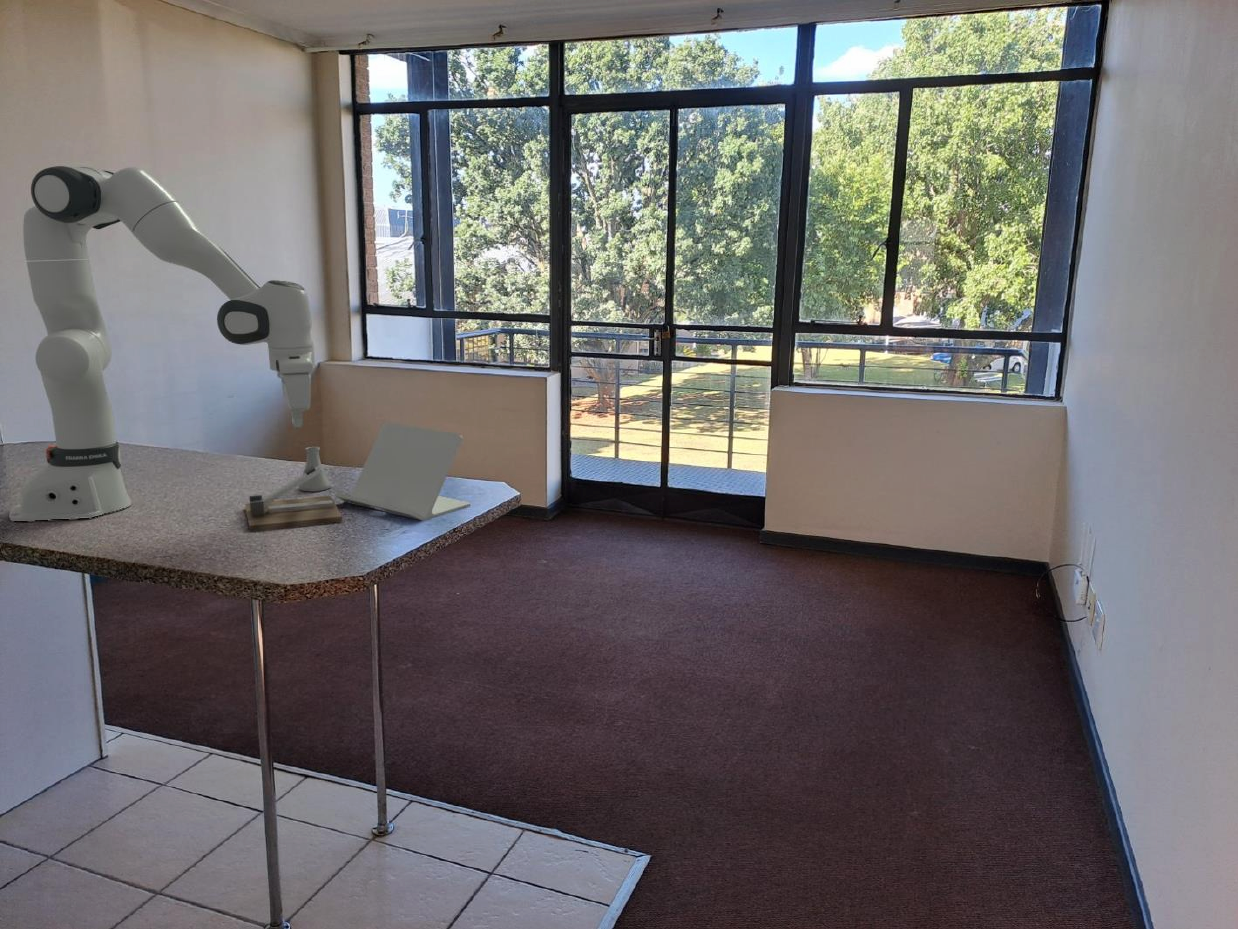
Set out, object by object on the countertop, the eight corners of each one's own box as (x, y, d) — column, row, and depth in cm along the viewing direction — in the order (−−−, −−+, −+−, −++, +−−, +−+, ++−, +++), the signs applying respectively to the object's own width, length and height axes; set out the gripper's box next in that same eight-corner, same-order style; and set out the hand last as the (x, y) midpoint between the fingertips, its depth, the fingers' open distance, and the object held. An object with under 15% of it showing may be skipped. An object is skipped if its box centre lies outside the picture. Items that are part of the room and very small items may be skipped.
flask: (310, 494, 206) (308, 452, 204) (293, 489, 210) (290, 448, 208) (337, 488, 212) (334, 447, 209) (319, 483, 216) (316, 443, 214)
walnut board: (249, 531, 177) (249, 525, 177) (245, 508, 193) (245, 503, 193) (342, 521, 184) (341, 516, 184) (330, 500, 200) (330, 495, 200)
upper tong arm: (255, 514, 184) (250, 506, 183) (254, 510, 187) (249, 502, 186) (324, 474, 188) (318, 466, 187) (321, 470, 191) (316, 462, 190)
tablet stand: (395, 489, 212) (392, 420, 208) (472, 506, 198) (470, 432, 195) (334, 505, 197) (329, 431, 193) (412, 525, 184) (408, 445, 180)
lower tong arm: (252, 517, 182) (250, 502, 182) (250, 510, 188) (249, 495, 187) (334, 509, 189) (333, 495, 189) (330, 502, 194) (330, 488, 194)
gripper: (272, 356, 190) (278, 419, 193) (280, 366, 172) (286, 435, 175) (302, 354, 193) (308, 416, 196) (313, 364, 174) (319, 432, 178)
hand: (297, 425), depth 185 cm, fingers closed
